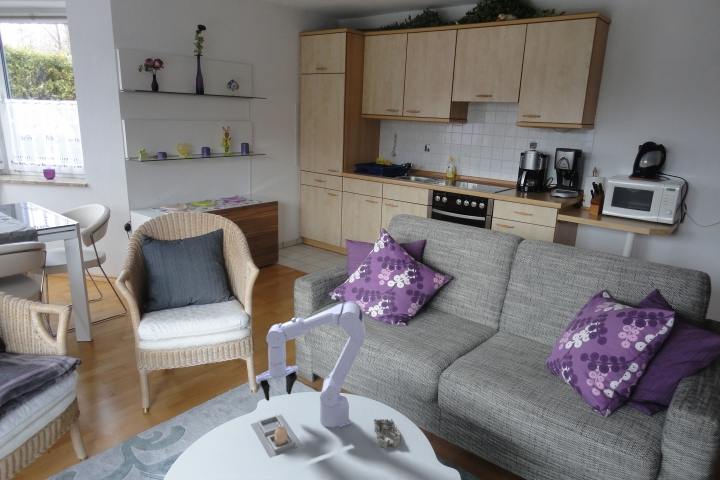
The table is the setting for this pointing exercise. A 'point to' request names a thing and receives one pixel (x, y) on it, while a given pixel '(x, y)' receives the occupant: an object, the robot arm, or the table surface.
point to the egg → (280, 436)
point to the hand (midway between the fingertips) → (277, 395)
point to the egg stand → (267, 435)
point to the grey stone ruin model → (386, 432)
